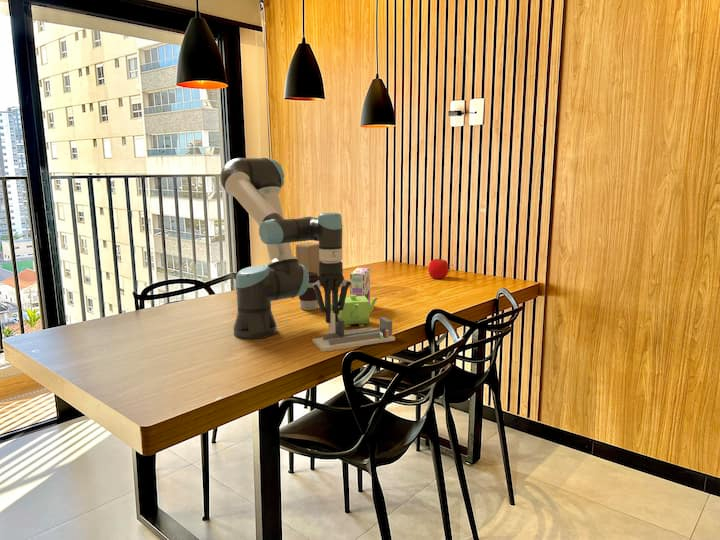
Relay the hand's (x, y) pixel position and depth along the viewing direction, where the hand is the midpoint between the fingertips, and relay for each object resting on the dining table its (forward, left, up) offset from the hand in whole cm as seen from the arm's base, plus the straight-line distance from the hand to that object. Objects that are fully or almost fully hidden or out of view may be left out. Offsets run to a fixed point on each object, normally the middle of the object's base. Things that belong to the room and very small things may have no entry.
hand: (331, 331), depth 170 cm
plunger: (+10, -1, -3) cm, 10 cm away
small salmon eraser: (+18, -4, -3) cm, 19 cm away
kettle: (+16, +18, -5) cm, 25 cm away
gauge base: (+8, 0, -5) cm, 9 cm away
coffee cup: (+8, +47, -5) cm, 48 cm away
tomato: (+90, +76, -5) cm, 118 cm away
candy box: (+27, +37, -5) cm, 46 cm away
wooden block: (+25, +97, -5) cm, 100 cm away
